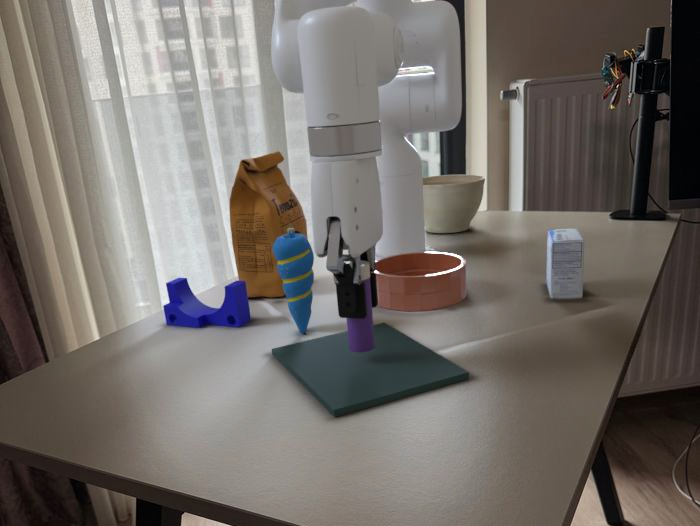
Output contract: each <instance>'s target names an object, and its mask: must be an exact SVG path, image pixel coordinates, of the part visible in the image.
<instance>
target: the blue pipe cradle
mask: <svg viewBox="0 0 700 526" xmlns="http://www.w3.org/2000/svg"><path fill="white" fill-rule="evenodd" d="M165 286H166V291H167V296H168V300H169V301H168V303H166V304H164V305H162V307H163V308H162V309H163V312H164V313H163V314H164V318H165V322H166V326H173V327H175V326H176V327H185V328H197V329H200V328H202V327H204V326H205V325H208V326H221V327H230V328H231V327H232V328H242V326H245V325H246V324H248V323H249V322H251V321H252V318H251V317H252V316H251V311H250V303H249V298H248V296H247V289H246V282H245V281H239V280H234V281H232V282H230V283H229V284H227V285H225V286H224V298H223V301H222V304H221V306H220V307H212V306H208V305H207V304H205V303H204V302H202V301H200V300H199V298H197V296H196V295H195V294H194V292H193V290H192V289H191V287H190V285H189V281H188V278H187V277H177V278H175V279H172V280H170V281H168V282H166V283H165Z"/></svg>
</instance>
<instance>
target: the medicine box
mask: <svg viewBox="0 0 700 526" xmlns="http://www.w3.org/2000/svg"><path fill="white" fill-rule="evenodd" d="M546 236H547V237H546V238H547V239H546V277H545V278H546V279H545V280H546V282H545V283H546V287H547V289H548V293H549V297H550V299H582V298H583V294H584V293H583V292H584V270H585V269H584V265H585V240H584V238H583V237H582V234H581V233H580V230H579V229H578V228H557V229H550V230H548V231H547V234H546Z"/></svg>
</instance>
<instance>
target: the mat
mask: <svg viewBox="0 0 700 526" xmlns="http://www.w3.org/2000/svg"><path fill="white" fill-rule="evenodd" d="M373 327H374V341H375V348H374V349H373V350H371V351H367V352H353V351H351V350H350V349H349V341H348V330H345V331H341V332H337V333H333V334H328V335H325V336H320V337H316V338H312V339H308V340H304V341H300V342H296V343H295V342H294V343H291V344H286V345H281V346H278V347H273V348H271V354H272V356H273V357H274V358H275V359H276V360H277V361H278V362H279V363H280V364H281V365H282V366H283V367H284V368H285V369H286V370H287V371H288V373H290V374H291V375H292V376H293V377H294V378H295V379H296V380H297V381H298V382H299V383H300V384H301V385H302V386H303V387H304V388H305V389H306V390H307V391H308V392H309V393H310V394H311V395H312V396H313V397H314V399H316V400H317V401H318V402H319V403H320V404H321V405H322V406H323V407H324V408H325V410H327V411H328V412H329V413H330V414H331V415H332V416H333V417H334V418H337V417H340V416H343V415H346V414H350V413H353V412H357V411H361V410H364V409H368V408H372V407H375V406H378V405H382V404H386V403H388V402H393V401H396V400H400V399H403V398H406V397H410V396H413V395H416V394H421V393H423V392H427V391H431V390H434V389H438V388H442V387H445V386H447V385H452V384H456V383H458V382H463V381H466V380H470V372H469V371H468V370H466V369H464V368H463V367H461V366H459V365H458V364H456V363H454V362H452V361H451V360H449V359H448V358H446V357H444V356H442V355H440V353H437V352H435V351H434V350H432V349H431V348H429V347H427V346H426V345H424V344H422V343H420V342H418V341H417V340H415V339H414V338H411V337H410V336H408V335H406V334H405V333H403V332H401V331H399V330H398V329H396V328H394V327H393V326H392V325H389V324H388V323H387V322H379V323H375V324H373Z"/></svg>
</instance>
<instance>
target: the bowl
mask: <svg viewBox="0 0 700 526" xmlns="http://www.w3.org/2000/svg"><path fill="white" fill-rule="evenodd" d="M371 273H376V282H377V296H378V305H377V306H378V307H379V308H383V309H386V310H391V311H398V312H399V311H400V312H425V311H434V310H439V309H444V308H448V307H451V306H454V305H456V304H459V303H461V302H462V301H463V300H465V299H466V298H467V295H468V294H467V293H468V291H467V290H468V289H467V288H468V287H467V286H468V285H467V259H465V258H464V257H463V256H461V255H457V254H455V253H448V252H440V251H434V252H413V253H404V254H397V255H392V256H388V257H385V258H382V259H379V260H377V261H376V271H375V272H371ZM377 306H376V307H377Z"/></svg>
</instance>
